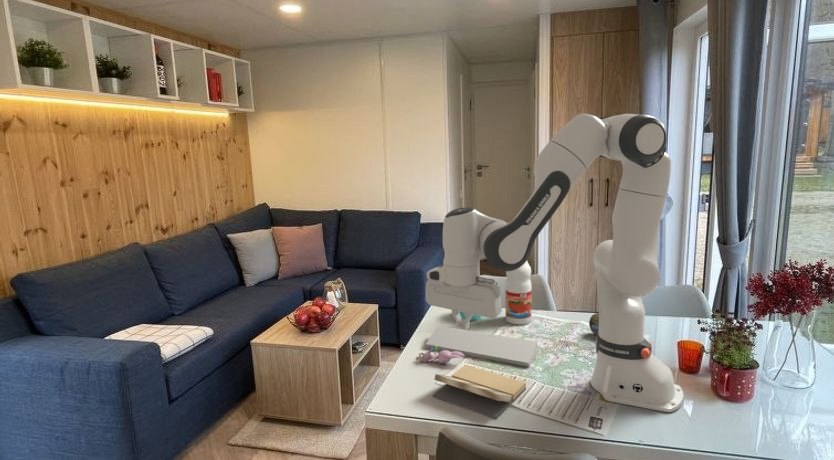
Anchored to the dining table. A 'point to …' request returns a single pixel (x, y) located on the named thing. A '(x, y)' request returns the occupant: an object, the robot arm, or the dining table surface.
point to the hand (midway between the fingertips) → (462, 327)
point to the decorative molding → (484, 345)
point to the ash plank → (473, 388)
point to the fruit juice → (518, 295)
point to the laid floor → (479, 401)
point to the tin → (594, 323)
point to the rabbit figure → (439, 355)
